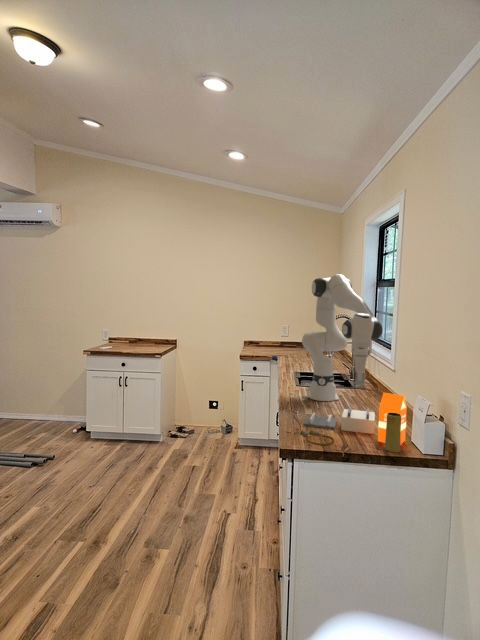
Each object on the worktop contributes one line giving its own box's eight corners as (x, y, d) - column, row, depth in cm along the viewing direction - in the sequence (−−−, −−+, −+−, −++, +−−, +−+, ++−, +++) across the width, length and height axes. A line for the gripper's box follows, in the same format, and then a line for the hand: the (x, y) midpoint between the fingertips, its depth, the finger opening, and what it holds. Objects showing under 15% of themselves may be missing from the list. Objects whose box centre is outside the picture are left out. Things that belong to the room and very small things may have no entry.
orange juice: (384, 436, 180) (386, 390, 179) (405, 441, 174) (407, 394, 173) (377, 441, 174) (379, 394, 173) (399, 446, 168) (401, 397, 167)
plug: (355, 383, 193) (356, 370, 193) (364, 384, 192) (365, 371, 192) (355, 385, 189) (355, 372, 189) (364, 386, 188) (364, 373, 188)
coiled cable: (327, 433, 184) (327, 429, 184) (337, 446, 168) (337, 441, 168) (299, 433, 183) (300, 429, 183) (307, 446, 167) (308, 441, 167)
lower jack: (308, 417, 206) (308, 411, 206) (337, 420, 202) (337, 414, 201) (303, 425, 193) (303, 419, 192) (334, 429, 188) (334, 422, 188)
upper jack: (343, 421, 201) (344, 404, 200) (374, 424, 196) (374, 408, 196) (341, 430, 187) (341, 412, 187) (374, 434, 183) (374, 416, 183)
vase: (400, 453, 161) (402, 417, 160) (383, 451, 163) (385, 415, 162) (400, 448, 166) (402, 413, 166) (384, 445, 169) (386, 411, 168)
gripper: (355, 345, 200) (354, 374, 201) (353, 351, 181) (351, 383, 182) (369, 346, 198) (367, 375, 199) (368, 352, 179) (366, 384, 180)
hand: (360, 379), depth 191 cm, fingers closed on plug, 4 cm apart
